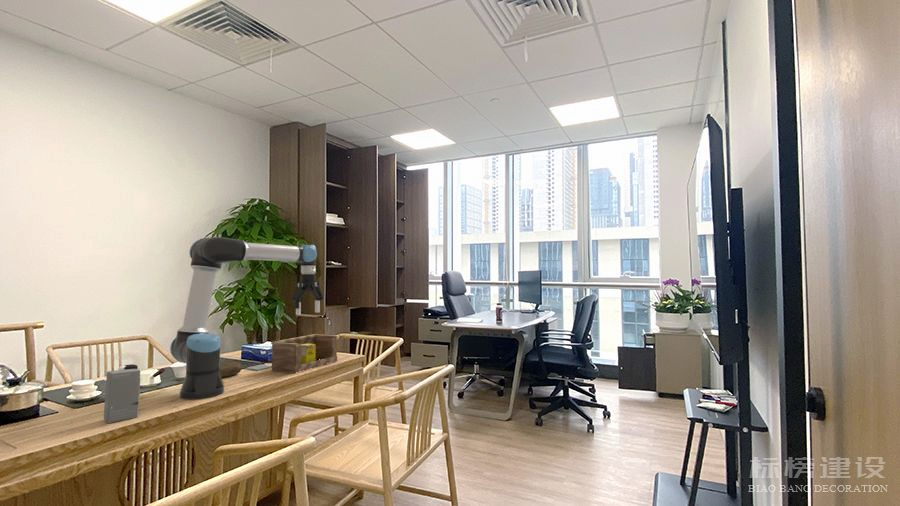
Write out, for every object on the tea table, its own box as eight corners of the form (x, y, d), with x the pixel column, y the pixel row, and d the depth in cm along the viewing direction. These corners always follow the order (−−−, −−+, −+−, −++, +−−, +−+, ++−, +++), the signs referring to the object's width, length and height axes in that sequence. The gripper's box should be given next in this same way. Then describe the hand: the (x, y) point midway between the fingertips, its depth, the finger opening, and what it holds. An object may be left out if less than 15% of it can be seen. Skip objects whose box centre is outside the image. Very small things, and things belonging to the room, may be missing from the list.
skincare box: (107, 424, 131) (109, 374, 132) (102, 419, 136) (104, 370, 137) (139, 417, 138) (141, 369, 139) (134, 412, 142) (135, 366, 143)
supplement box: (315, 364, 218) (315, 344, 218) (306, 366, 212) (306, 345, 213) (308, 363, 221) (308, 343, 221) (298, 365, 216) (299, 344, 216)
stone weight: (214, 381, 184) (214, 366, 184) (203, 380, 186) (204, 365, 187) (242, 374, 197) (243, 360, 198) (232, 373, 200) (233, 359, 200)
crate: (294, 373, 198) (295, 344, 199) (270, 370, 205) (271, 342, 206) (338, 361, 226) (338, 335, 227) (315, 358, 233) (315, 333, 234)
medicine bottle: (136, 392, 167) (138, 362, 168) (139, 395, 162) (140, 365, 163) (114, 395, 162) (115, 365, 163) (116, 399, 157) (117, 368, 158)
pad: (257, 370, 204) (257, 369, 204) (245, 369, 208) (245, 368, 208) (272, 367, 212) (272, 366, 212) (260, 365, 216) (260, 364, 216)
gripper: (295, 273, 206) (295, 316, 205) (330, 273, 228) (329, 311, 227) (284, 273, 209) (284, 315, 208) (319, 273, 232) (319, 311, 231)
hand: (308, 313), depth 218 cm, fingers open, 13 cm apart
